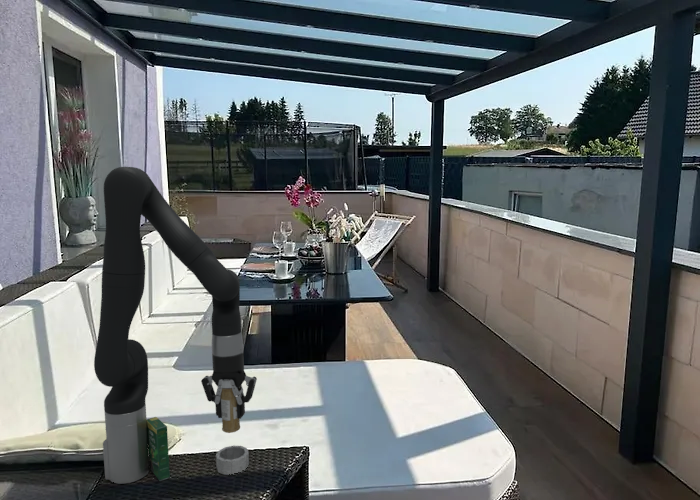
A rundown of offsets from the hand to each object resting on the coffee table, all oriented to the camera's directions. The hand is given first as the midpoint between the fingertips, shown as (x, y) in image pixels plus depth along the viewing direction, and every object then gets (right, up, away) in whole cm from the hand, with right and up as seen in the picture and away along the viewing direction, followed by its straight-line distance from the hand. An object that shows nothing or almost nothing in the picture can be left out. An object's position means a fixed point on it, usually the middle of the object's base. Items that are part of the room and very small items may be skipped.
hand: (230, 416), depth 129 cm
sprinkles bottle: (0, -4, 0) cm, 3 cm away
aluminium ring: (0, -13, +2) cm, 13 cm away
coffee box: (-17, -14, -1) cm, 22 cm away
